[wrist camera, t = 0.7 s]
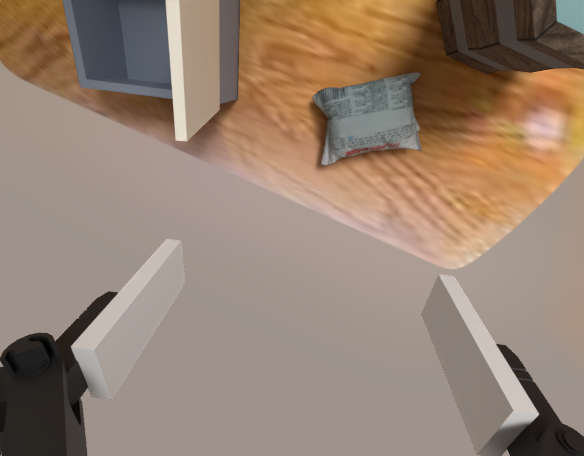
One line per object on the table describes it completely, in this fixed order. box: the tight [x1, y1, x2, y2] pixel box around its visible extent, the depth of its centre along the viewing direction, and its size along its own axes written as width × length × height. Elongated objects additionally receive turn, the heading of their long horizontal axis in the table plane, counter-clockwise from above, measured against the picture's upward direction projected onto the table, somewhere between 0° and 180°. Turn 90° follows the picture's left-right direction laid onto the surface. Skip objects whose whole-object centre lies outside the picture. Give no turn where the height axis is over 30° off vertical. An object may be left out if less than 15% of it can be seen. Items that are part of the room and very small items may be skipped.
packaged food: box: [313, 72, 422, 165], centre depth 34 cm, size 9×12×5 cm
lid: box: [166, 0, 220, 141], centre depth 20 cm, size 13×14×1 cm
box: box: [63, 0, 240, 104], centre depth 30 cm, size 12×14×8 cm
